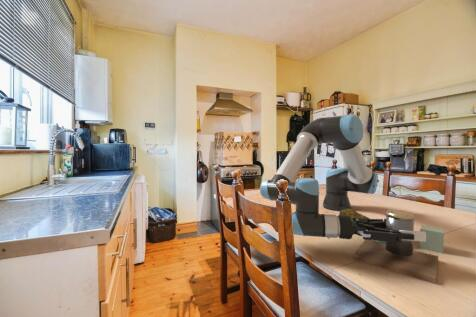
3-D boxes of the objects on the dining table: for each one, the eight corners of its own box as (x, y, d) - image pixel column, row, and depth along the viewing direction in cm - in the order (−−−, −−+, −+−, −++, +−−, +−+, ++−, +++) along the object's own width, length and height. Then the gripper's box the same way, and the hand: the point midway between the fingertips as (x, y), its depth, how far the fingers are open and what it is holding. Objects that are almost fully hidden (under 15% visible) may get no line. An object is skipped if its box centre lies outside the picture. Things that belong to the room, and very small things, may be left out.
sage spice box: (419, 248, 79) (420, 228, 78) (421, 243, 82) (421, 225, 82) (442, 253, 74) (443, 233, 74) (443, 248, 78) (443, 228, 78)
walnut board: (353, 258, 72) (353, 253, 72) (366, 242, 83) (366, 238, 83) (435, 284, 58) (435, 278, 58) (438, 260, 70) (438, 256, 70)
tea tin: (382, 251, 70) (383, 212, 69) (387, 243, 75) (388, 208, 74) (411, 259, 65) (413, 217, 64) (414, 250, 70) (415, 212, 69)
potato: (370, 233, 92) (370, 214, 92) (337, 227, 100) (337, 209, 99) (373, 227, 98) (373, 209, 98) (342, 222, 106) (342, 205, 106)
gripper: (332, 227, 84) (402, 231, 78) (344, 251, 64) (438, 259, 59) (332, 207, 83) (402, 210, 78) (344, 225, 64) (439, 231, 59)
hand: (417, 231), depth 68 cm, fingers closed on tea tin, 7 cm apart
